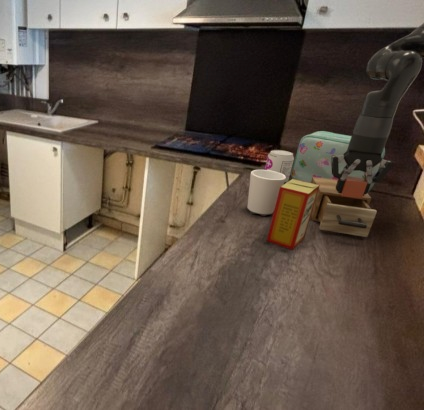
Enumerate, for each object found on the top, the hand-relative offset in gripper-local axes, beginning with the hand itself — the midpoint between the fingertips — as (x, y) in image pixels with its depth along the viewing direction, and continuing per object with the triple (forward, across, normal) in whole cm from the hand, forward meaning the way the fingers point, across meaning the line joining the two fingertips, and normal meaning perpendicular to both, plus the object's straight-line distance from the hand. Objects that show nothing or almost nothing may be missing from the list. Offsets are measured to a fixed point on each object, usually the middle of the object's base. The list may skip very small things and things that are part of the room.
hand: (350, 193), depth 100 cm
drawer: (+10, 0, +1) cm, 10 cm away
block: (0, 0, 0) cm, 0 cm away
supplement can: (+11, +16, -24) cm, 31 cm away
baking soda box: (+11, +15, +14) cm, 23 cm away
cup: (+11, +21, -3) cm, 24 cm away
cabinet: (+11, 0, -10) cm, 15 cm away
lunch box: (+11, -4, -36) cm, 38 cm away
